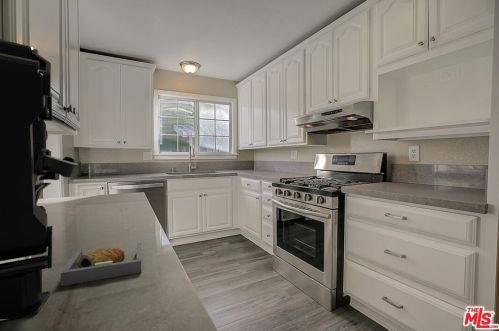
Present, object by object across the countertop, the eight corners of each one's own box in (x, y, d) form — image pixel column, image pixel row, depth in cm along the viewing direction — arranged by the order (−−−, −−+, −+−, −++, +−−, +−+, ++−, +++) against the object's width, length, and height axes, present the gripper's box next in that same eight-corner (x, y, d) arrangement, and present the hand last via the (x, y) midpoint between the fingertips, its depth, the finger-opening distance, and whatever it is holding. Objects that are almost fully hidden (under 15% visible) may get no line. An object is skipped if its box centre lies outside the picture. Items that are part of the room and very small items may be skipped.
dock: (141, 272, 51) (141, 257, 51) (60, 286, 45) (60, 269, 45) (141, 251, 63) (141, 240, 63) (77, 260, 57) (77, 247, 57)
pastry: (113, 255, 61) (113, 240, 61) (132, 259, 58) (132, 244, 58) (74, 270, 52) (74, 253, 52) (94, 276, 50) (94, 258, 50)
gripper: (62, 142, 46) (62, 222, 46) (83, 147, 62) (83, 206, 63) (-18, 139, 41) (-18, 229, 41) (28, 146, 58) (28, 209, 58)
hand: (28, 216), depth 51 cm, fingers closed
